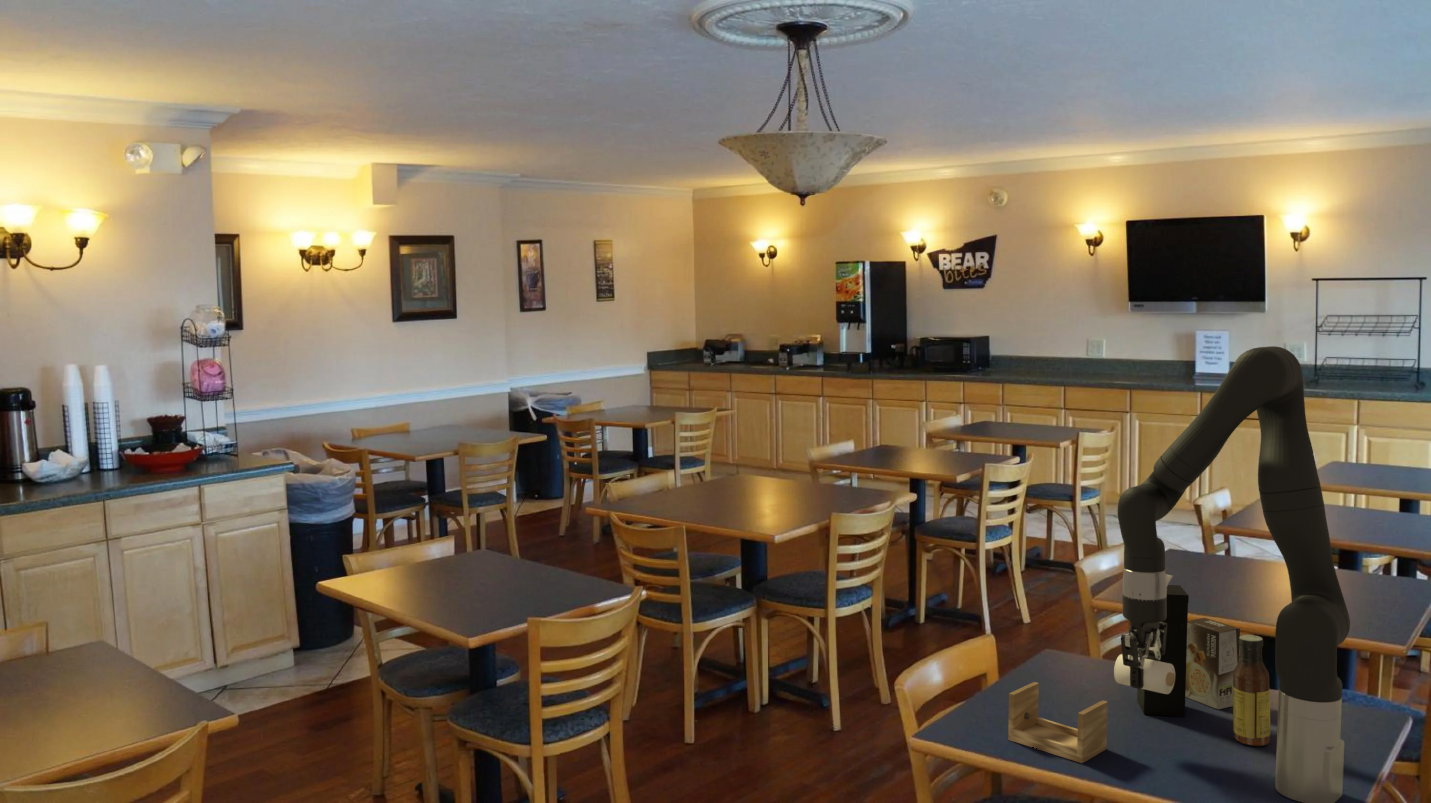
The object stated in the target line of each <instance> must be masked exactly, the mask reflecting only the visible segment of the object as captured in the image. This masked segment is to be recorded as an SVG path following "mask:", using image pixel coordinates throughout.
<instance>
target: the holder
mask: <svg viewBox="0 0 1431 803" xmlns="http://www.w3.org/2000/svg"><path fill="white" fill-rule="evenodd" d="M1039 686H1040V684H1039V682H1037V681H1033V682H1030V683H1028V684H1026V685H1025V686H1022V687H1020V688H1018V689H1016V690H1013V691H1012V692H1009V693H1008V738H1007V740H1008V741H1011V742H1014V743H1018V744H1021V745H1024V746H1027V747H1030V748H1032V747H1034V748H1033V749H1036V748H1037V749H1036V750H1039V751H1043V752H1045V753H1048V754H1051V755H1055V756H1058V757H1061V758H1064V759H1067V760H1070V761H1074V762H1077V763H1080V764H1084V763H1086V762H1088V761H1089V760H1090V759H1092V758H1094V757H1096V756H1097V755H1098V754H1101V753H1102V752H1104V751H1106V750H1107V742H1108V741H1107V738H1108V703H1109V702H1108V701H1106V700H1101V701H1100V700H1099V701H1098V702H1097V703H1094V704H1093V705H1090V706H1089V707H1087V708H1085V709H1083V710H1080V711H1079V712H1078V713H1077V728H1076V727H1073V726H1069V725H1065V724H1063V723H1059V722H1055V721H1052V720H1049V719H1046V718H1043V717H1039V705H1040V704H1039V698H1040V697H1039V695H1040V691H1039V690H1040V687H1039Z"/></svg>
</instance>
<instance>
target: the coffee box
mask: <svg viewBox="0 0 1431 803" xmlns="http://www.w3.org/2000/svg"><path fill="white" fill-rule="evenodd" d="M1240 636H1241V628H1240V627H1237V626H1233V625H1230V624H1226V623H1224V622H1220V621H1217V620H1214V619H1210V618H1207V617H1201V618H1194V619H1191V620H1188V622H1187V658H1186V693H1185V698H1187V699H1190V700H1193V701H1195V702H1198V703H1201V704H1203V705H1206V706H1208V707H1211V708H1213V709H1215V710H1222V709H1226V708H1230V707H1231V708H1232V707H1233V675H1234V669H1235V667H1236V666H1237V664H1238V662H1239V660H1240V645H1239V637H1240Z"/></svg>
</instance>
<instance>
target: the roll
mask: <svg viewBox="0 0 1431 803" xmlns="http://www.w3.org/2000/svg"><path fill="white" fill-rule="evenodd" d="M1138 658H1140V657H1138ZM1128 659H1129V655H1128ZM1143 669H1144V676H1143V681H1144V686H1143V688H1141V689H1145V690H1150V691H1154V692H1159V693H1163V694H1169V693H1170V692H1171V691H1172V689H1173V686H1174V683H1175V669H1174V666H1173V665H1172V664H1170V663H1165V662H1160V661H1155V660H1150V659H1145V661H1144V666H1143ZM1113 675H1114V680H1115V682H1116V683H1117V684H1119V685H1124V686H1129V687H1131V686H1130V667H1129V666H1125V665H1123V657H1122V653H1121V654H1119V655H1118V656H1117V658H1116V660H1115V662H1114V667H1113Z"/></svg>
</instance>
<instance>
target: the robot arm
mask: <svg viewBox="0 0 1431 803" xmlns="http://www.w3.org/2000/svg"><path fill="white" fill-rule="evenodd" d="M1254 412H1256V414H1257V418H1258V422H1259V429H1260V448H1259V456H1258V466H1257V467H1258V468H1257V486H1258V492H1259V498H1260V504H1261V509H1262V514H1263V518H1264V521H1265V524H1266V527H1267V529H1268V531H1269V533H1270V535H1271V538H1272V539H1273V541H1274V542H1275V544H1276V547H1277V548H1278V550H1279V552H1280V553H1281V556H1282V558H1283V560H1284V563H1285V565H1286V569H1287V574H1288V579H1289V586H1290V588H1289V589H1290V594H1291V595H1290V597H1291V602H1290V603H1288V604H1287V605H1285V606H1284V607H1283V608H1282V609H1281V610H1280V611H1279V614H1278V615H1277V618H1276V623H1275V624H1276V625H1275V633H1274V634H1275V636H1274V637H1275V638H1274V640H1275V641H1274V642H1275V645H1274V646H1275V647H1274V648H1275V650H1274V653H1275V654H1274V655H1275V658H1274V659H1275V661H1274V663H1275V672H1276V676H1277V678H1278V699H1277V700H1278V701H1277V702H1278V704H1277V724H1276V725H1277V728H1276V729H1277V730H1276V734H1277V735H1276V757H1275V774H1274V778H1275V786H1274V787H1275V790H1276V791H1277V792H1278V793H1279V794H1281V795H1282V796H1284V797H1286V798H1288V799H1290V800H1294V801H1297V802H1301V803H1336V802H1337V801H1338V800H1339V799H1340V798H1341V797H1343V785H1344V784H1343V782H1344V763H1345V762H1344V760H1345V741H1344V739H1342V738H1341V733H1342V732H1341V729H1342V728H1341V726H1342V703H1343V682H1342V680H1341V678H1340V677H1338V672H1337V667H1338V666H1337V663H1338V662H1337V661H1338V656H1337V654H1338V646H1340V645H1341V644H1342V643H1344V642H1345V640H1346V639H1347V637H1349V632H1350V631H1351V630H1350V629H1351V620H1350V613H1349V611H1348V607H1347V603H1346V600H1345V598H1344V595H1343V592H1342V588H1341V586H1340V582H1339V579H1338V576H1337V572H1336V567H1335V564H1334V559H1333V552H1332V545H1331V538H1330V532H1329V531H1330V530H1329V527H1328V526H1329V525H1328V521H1327V515H1326V514H1327V513H1326V507H1325V501H1324V497H1323V491H1322V486H1321V482H1320V478H1319V473H1318V469H1317V465H1316V464H1317V463H1316V459H1315V454H1314V449H1313V445H1312V442H1311V437H1310V433H1309V430H1308V424H1307V416H1306V406H1305V391H1304V377H1303V370H1302V366H1301V364H1300V361H1299V359H1298V358H1297V357H1296V356H1295V354H1293V353H1292V352H1291V351H1290V350H1288V349H1286V348H1284V347H1281V346H1276V345H1275V346H1274V345H1273V346H1270V345H1269V346H1259V347H1255V348H1254V347H1253V348H1251V349H1248V350H1246V351H1245V352H1243V353H1240V355H1239V356H1238V357H1237V358H1236V360H1235V361H1234V362H1233V364H1232V366H1231V368H1230V369H1229V371H1228V372H1227V373H1226V375H1225V377H1224V378H1223V380H1222V381H1221V383H1220V384H1219V386H1218V388H1217V389H1216V390H1215V392H1214V394H1213V395H1212V396H1211V398H1210V399H1209V401H1208V402H1207V404H1206V405H1205V406H1204V407H1203V409H1202V410H1201V411H1200V413H1198V415H1197V416H1196V417H1195V418H1194V419H1193V421H1192V422H1190V424H1188V426H1187V427H1186V428H1185V429H1184V430H1183V431H1182V432H1181V433H1180V434H1179V436H1178V437H1177V438H1176V439H1175V440H1174V441H1173V442H1172V444H1170V445H1169V446H1168V447H1167V448H1166V450H1165V451H1164V452H1163V453H1162V454H1161V455H1160V456H1159V458H1158V459H1157V460H1156V462H1155V463H1154V465H1153V471H1152V472H1151V473H1150V475H1148V477H1147V478H1146V479H1145V480H1144V481H1143V482H1142V483H1141V484H1139V485H1135V486H1132V487H1128V488H1127V489H1126V490H1124V491H1123V492H1122V493H1121V495H1120V496H1119V499H1118V502H1117V518H1118V526H1119V529H1120V533H1121V539H1122V542H1123V545H1124V546H1123V575H1122V616H1123V618H1124V619H1126V620H1127V621H1129V624H1130V626H1129V630H1128V633H1127V634H1121V635H1120V644H1121V652H1122V653H1121V654H1122V657H1123V665H1125V666H1129V667H1130V686H1129V687H1132V688H1134V689H1137V688H1138V689H1141V688H1143V686H1144V681H1143V676H1144V669H1143V666H1144V661H1145V657H1146V658H1148V659H1150V660H1155V661H1158V660H1160V659H1161V655H1164V654H1165V647H1166V635H1167V623H1164V622H1162V621H1164V620H1165V619H1166V617H1167V584H1166V575H1165V574H1166V549H1165V548H1166V547H1165V542H1164V540H1162V539H1161V538H1160V537H1159V536H1158V531H1157V521H1160V520H1161V519H1163V518H1165V517H1166V516H1167V515H1168V514H1169V513H1170V512H1171V511H1172V510H1173V509H1174V507H1175V506H1176V505H1177V503H1178V502H1179V501H1180V499H1181V498H1182V496H1183V495H1184V494H1185V492H1186V490H1187V489H1188V488H1189V487H1190V486H1191V485H1192V484H1193V483H1194V482H1195V481H1196V480H1197V479H1199V477H1200V476H1201V475H1202V474H1203V473H1204V472H1205V471H1206V470H1207V469H1208V468H1209V467H1210V465H1211V464H1212V463H1213V462H1214V460H1215V459H1216V458H1217V457H1218V455H1219V453H1221V451H1222V449H1223V447H1224V446H1225V444H1226V443H1227V441H1228V440H1229V439H1230V437H1231V435H1232V434H1233V433H1234V432H1235V431H1236V429H1237V428H1238V427H1239V426H1240V425H1241V424H1242V423H1243V422H1244V420H1246V419H1247V418H1248V417H1250V416H1251V415H1252V414H1253V413H1254ZM1138 649H1142V650H1143V651H1138ZM1128 655H1129V659H1128ZM1138 655H1140V658H1138Z"/></svg>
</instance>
